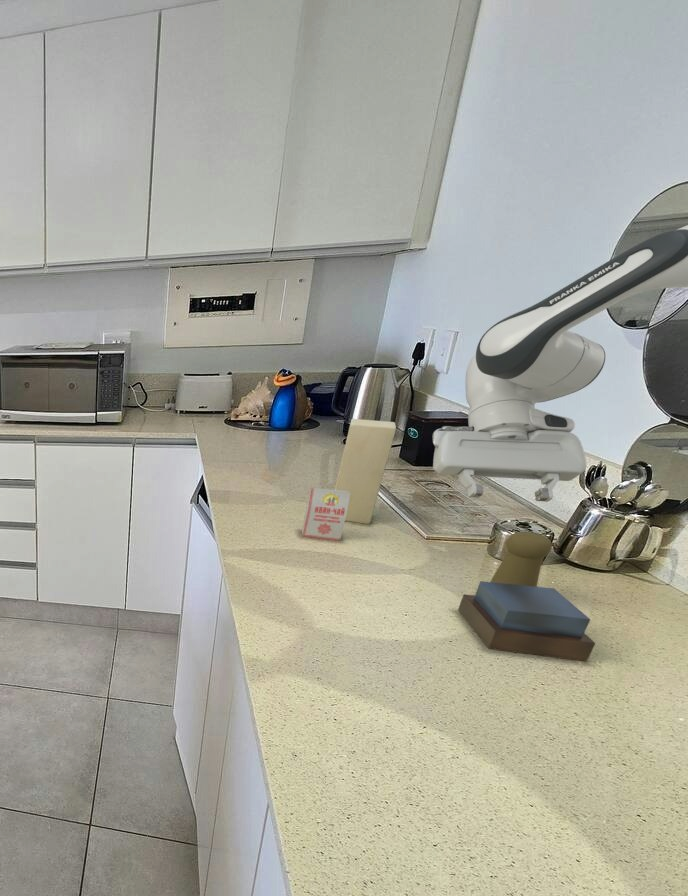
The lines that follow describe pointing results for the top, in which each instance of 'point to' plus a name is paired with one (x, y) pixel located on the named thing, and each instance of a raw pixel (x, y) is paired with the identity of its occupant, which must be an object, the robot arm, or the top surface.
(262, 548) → the top surface
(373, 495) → the cream tall block
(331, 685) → the top surface
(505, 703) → the top surface
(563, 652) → the block stack
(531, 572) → the cork
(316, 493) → the tea bag
